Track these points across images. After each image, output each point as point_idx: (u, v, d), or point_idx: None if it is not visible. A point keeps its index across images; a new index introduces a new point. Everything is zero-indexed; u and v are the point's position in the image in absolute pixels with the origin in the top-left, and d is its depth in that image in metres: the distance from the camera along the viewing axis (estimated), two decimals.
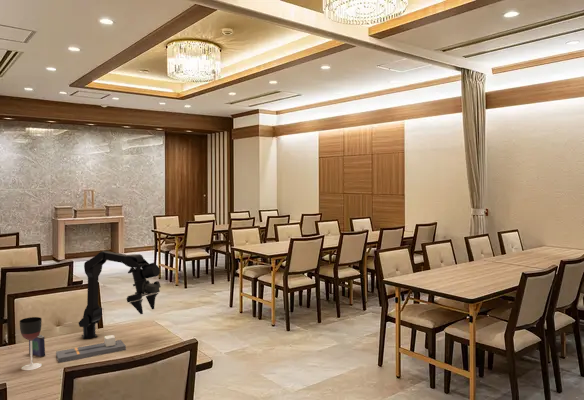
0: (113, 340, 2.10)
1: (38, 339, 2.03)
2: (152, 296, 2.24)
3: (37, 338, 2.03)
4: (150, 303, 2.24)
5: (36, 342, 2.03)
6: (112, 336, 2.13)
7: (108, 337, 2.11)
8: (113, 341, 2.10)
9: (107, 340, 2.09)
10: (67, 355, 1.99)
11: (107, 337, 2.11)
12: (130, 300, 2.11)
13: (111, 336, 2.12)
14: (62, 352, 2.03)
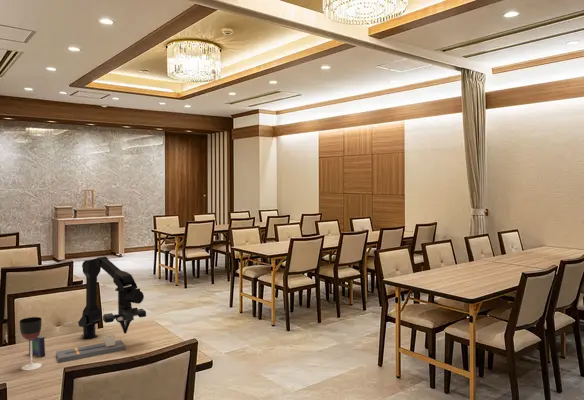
0: (113, 340, 2.10)
1: (38, 339, 2.03)
2: (126, 320, 2.15)
3: (37, 338, 2.03)
4: None
5: (36, 342, 2.03)
6: (112, 336, 2.13)
7: (108, 337, 2.11)
8: (113, 341, 2.10)
9: (107, 340, 2.09)
10: (67, 355, 1.99)
11: (107, 337, 2.11)
12: (103, 319, 2.11)
13: (111, 336, 2.12)
14: (62, 352, 2.03)
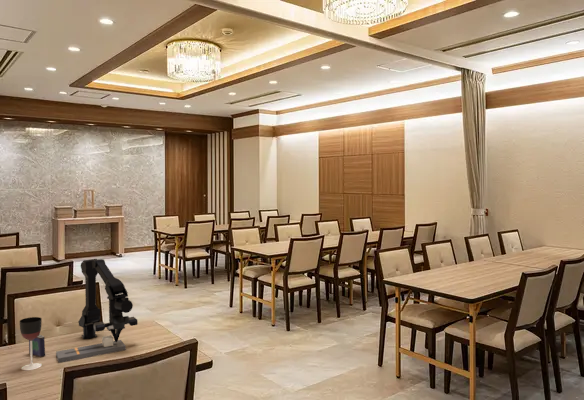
0: (111, 340, 2.10)
1: (38, 339, 2.03)
2: (117, 329, 2.13)
3: (37, 338, 2.03)
4: None
5: (36, 342, 2.03)
6: (110, 336, 2.12)
7: (106, 337, 2.10)
8: (111, 341, 2.10)
9: (105, 340, 2.08)
10: (67, 355, 1.99)
11: (105, 337, 2.10)
12: (94, 328, 2.08)
13: (109, 336, 2.12)
14: (62, 352, 2.03)
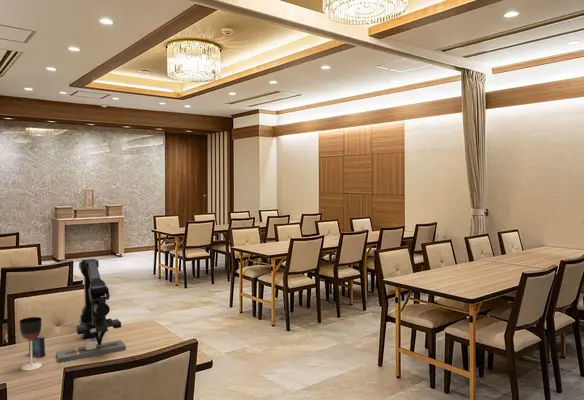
0: (93, 344, 2.06)
1: (38, 339, 2.03)
2: (100, 332, 2.08)
3: (37, 338, 2.03)
4: (99, 338, 2.10)
5: (36, 342, 2.03)
6: (93, 339, 2.08)
7: (88, 340, 2.06)
8: (93, 345, 2.06)
9: (87, 344, 2.04)
10: (67, 355, 1.99)
11: (87, 340, 2.06)
12: (76, 331, 2.04)
13: (92, 339, 2.07)
14: (62, 352, 2.03)
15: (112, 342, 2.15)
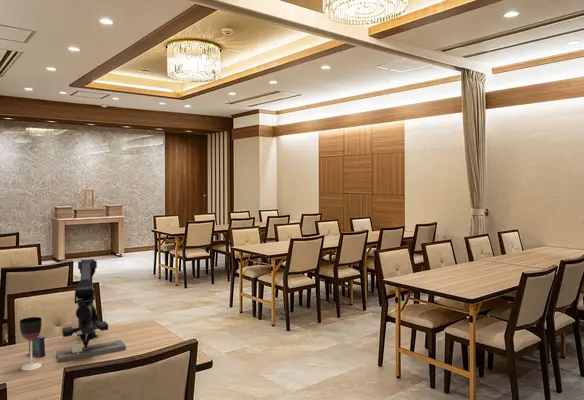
0: (80, 346, 2.03)
1: (38, 339, 2.03)
2: (87, 334, 2.05)
3: (37, 338, 2.03)
4: (85, 340, 2.07)
5: (36, 342, 2.03)
6: (79, 341, 2.05)
7: (75, 343, 2.03)
8: (80, 347, 2.03)
9: (73, 346, 2.01)
10: (67, 355, 1.99)
11: (74, 343, 2.03)
12: (62, 333, 2.01)
13: (78, 342, 2.04)
14: (62, 352, 2.03)
15: (112, 342, 2.15)
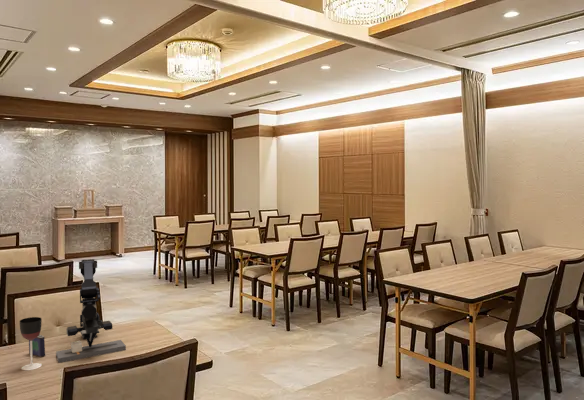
0: (80, 346, 2.03)
1: (38, 339, 2.03)
2: (91, 333, 2.06)
3: (37, 338, 2.03)
4: None
5: (36, 342, 2.03)
6: (79, 341, 2.05)
7: (74, 343, 2.03)
8: (80, 347, 2.03)
9: (73, 346, 2.01)
10: (67, 355, 1.99)
11: (73, 343, 2.03)
12: None
13: (78, 342, 2.04)
14: (62, 352, 2.03)
15: (112, 342, 2.15)
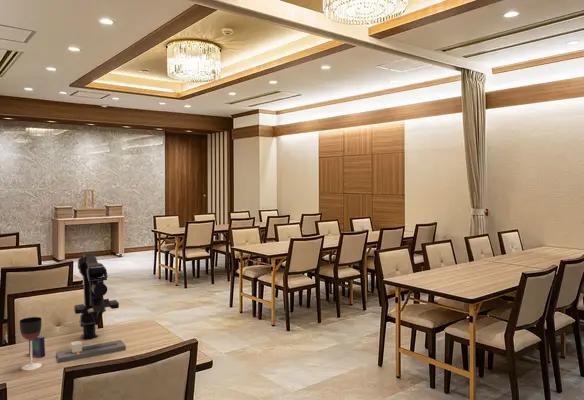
0: (80, 346, 2.03)
1: (38, 339, 2.03)
2: (98, 312, 2.11)
3: (37, 338, 2.03)
4: None
5: (36, 342, 2.03)
6: (79, 341, 2.05)
7: (74, 343, 2.03)
8: (80, 347, 2.03)
9: (73, 346, 2.01)
10: (67, 355, 1.99)
11: (73, 343, 2.03)
12: (74, 310, 2.07)
13: (78, 342, 2.04)
14: (62, 352, 2.03)
15: (112, 342, 2.15)
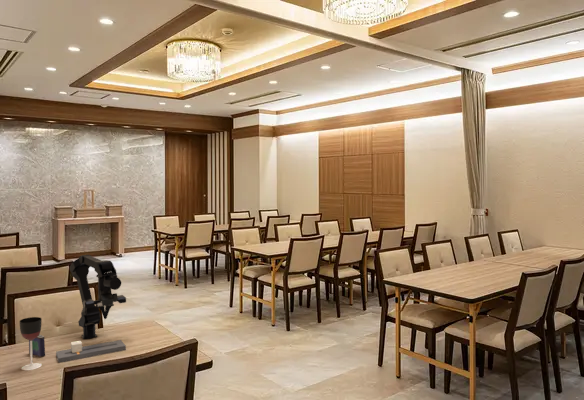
0: (80, 346, 2.03)
1: (38, 339, 2.03)
2: (106, 306, 2.19)
3: (37, 338, 2.03)
4: (105, 312, 2.20)
5: (36, 342, 2.03)
6: (79, 341, 2.05)
7: (74, 343, 2.03)
8: (80, 347, 2.03)
9: (73, 346, 2.01)
10: (67, 355, 1.99)
11: (73, 343, 2.03)
12: (83, 305, 2.15)
13: (78, 342, 2.04)
14: (62, 352, 2.03)
15: (112, 342, 2.15)
